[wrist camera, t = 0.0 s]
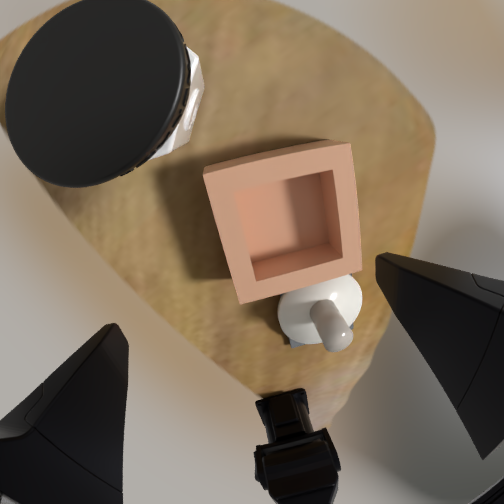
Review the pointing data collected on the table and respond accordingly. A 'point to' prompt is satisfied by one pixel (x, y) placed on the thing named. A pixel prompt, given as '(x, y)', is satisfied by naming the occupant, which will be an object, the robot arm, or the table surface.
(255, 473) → the robot arm
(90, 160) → the jar
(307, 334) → the lid
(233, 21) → the table surface
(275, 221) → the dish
